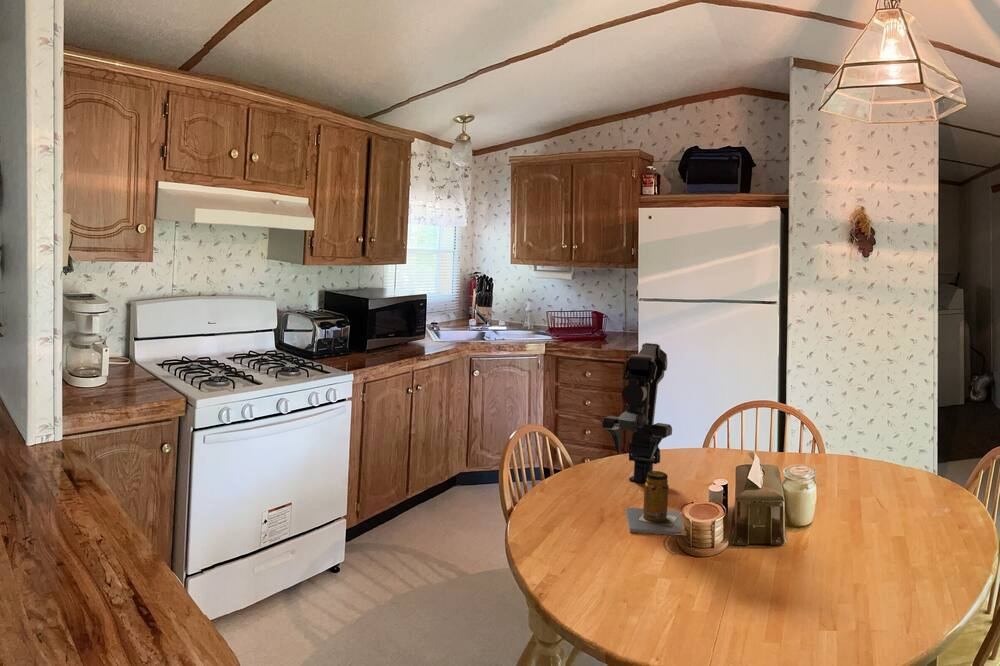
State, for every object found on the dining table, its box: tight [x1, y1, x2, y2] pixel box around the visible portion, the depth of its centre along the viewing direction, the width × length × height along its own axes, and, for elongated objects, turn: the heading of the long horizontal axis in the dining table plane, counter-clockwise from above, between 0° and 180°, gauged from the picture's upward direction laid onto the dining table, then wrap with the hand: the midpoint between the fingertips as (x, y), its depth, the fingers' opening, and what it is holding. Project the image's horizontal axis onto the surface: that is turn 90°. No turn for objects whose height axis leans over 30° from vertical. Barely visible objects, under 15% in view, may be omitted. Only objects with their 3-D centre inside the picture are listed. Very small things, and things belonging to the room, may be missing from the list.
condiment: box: [639, 470, 677, 526], centre depth 175 cm, size 7×8×12 cm
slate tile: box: [625, 506, 684, 536], centre depth 176 cm, size 14×14×1 cm
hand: (634, 456), depth 189 cm, fingers open, 9 cm apart
